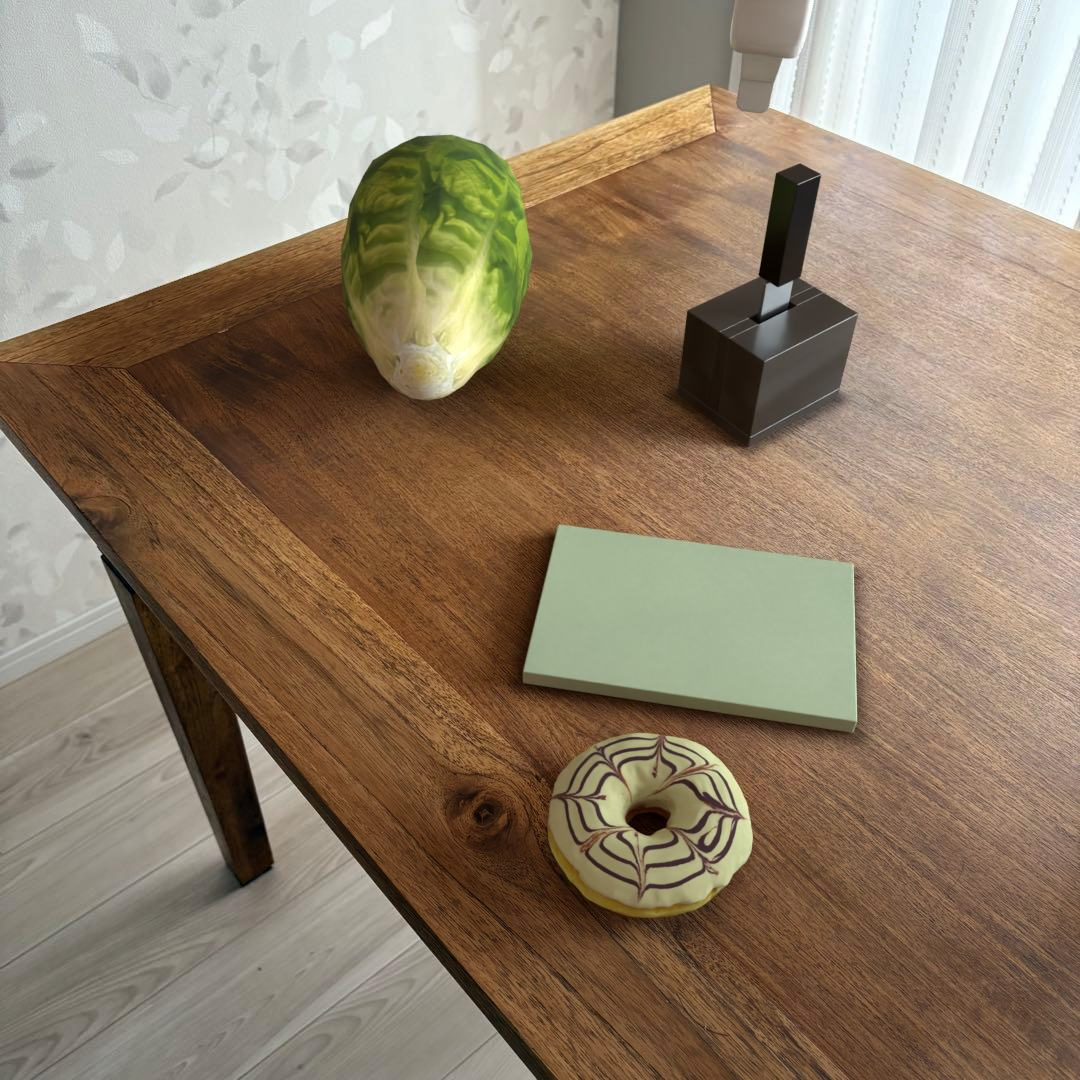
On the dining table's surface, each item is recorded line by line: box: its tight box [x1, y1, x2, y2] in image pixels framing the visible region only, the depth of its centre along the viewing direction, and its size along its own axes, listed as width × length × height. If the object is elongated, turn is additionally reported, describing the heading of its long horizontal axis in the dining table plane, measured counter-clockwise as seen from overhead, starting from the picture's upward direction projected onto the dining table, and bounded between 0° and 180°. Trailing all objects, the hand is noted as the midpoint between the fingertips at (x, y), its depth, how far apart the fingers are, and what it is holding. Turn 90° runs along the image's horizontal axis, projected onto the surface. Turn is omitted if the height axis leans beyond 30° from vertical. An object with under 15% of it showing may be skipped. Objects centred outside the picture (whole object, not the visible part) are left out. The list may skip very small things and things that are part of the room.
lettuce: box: [340, 134, 533, 402], centre depth 87 cm, size 15×27×16 cm, turn 0°
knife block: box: [676, 276, 859, 448], centre depth 86 cm, size 8×10×8 cm
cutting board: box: [522, 523, 858, 733], centre depth 71 cm, size 20×13×1 cm, turn 80°
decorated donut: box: [547, 732, 754, 919], centre depth 59 cm, size 10×11×4 cm
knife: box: [757, 162, 822, 325], centre depth 81 cm, size 2×3×18 cm, turn 128°
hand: (756, 70), depth 64 cm, fingers open, 8 cm apart
